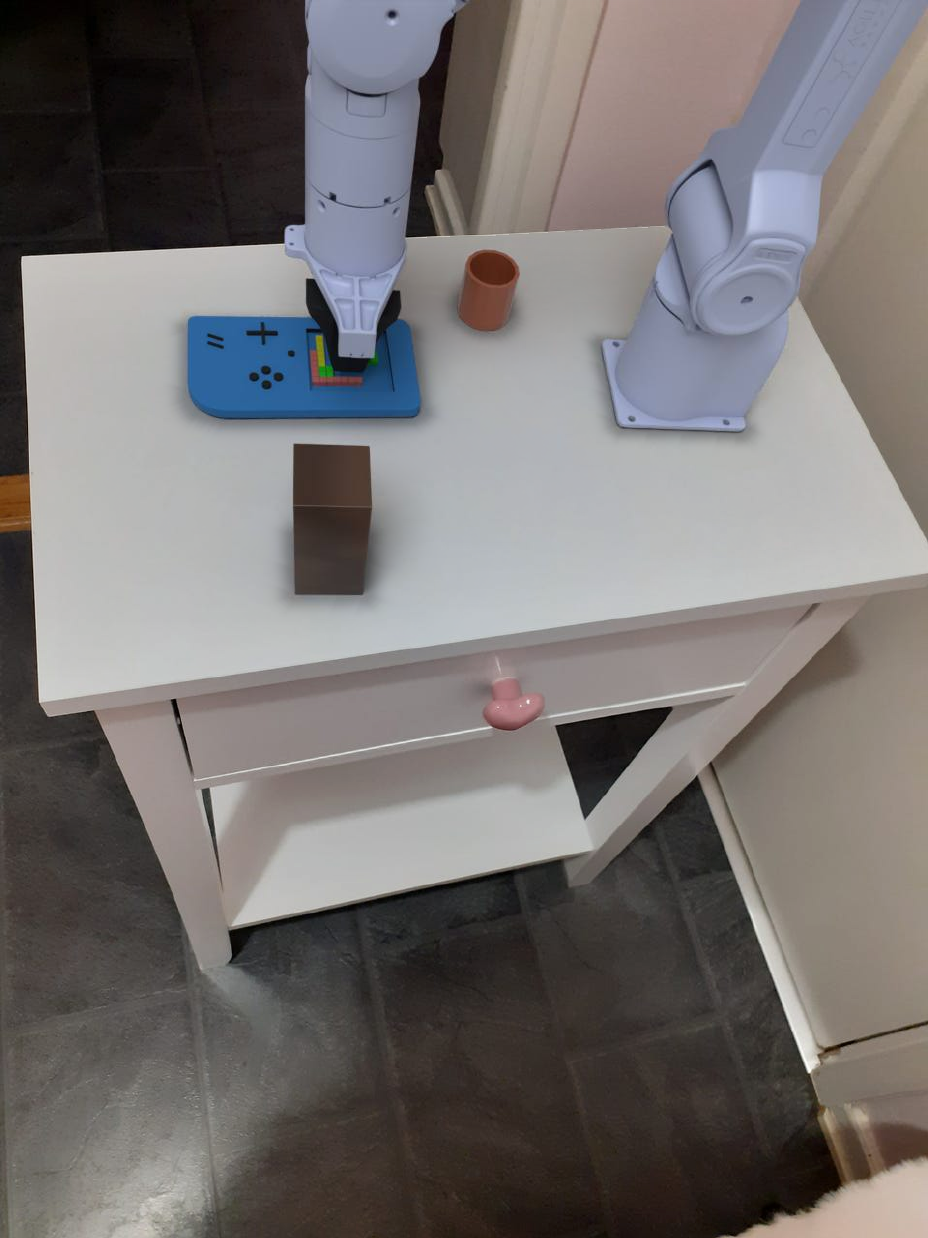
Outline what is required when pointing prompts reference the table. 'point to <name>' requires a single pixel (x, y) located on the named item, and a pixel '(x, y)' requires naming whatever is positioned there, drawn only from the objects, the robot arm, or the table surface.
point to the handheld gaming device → (294, 371)
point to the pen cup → (488, 289)
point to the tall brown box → (331, 518)
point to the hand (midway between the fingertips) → (348, 355)
